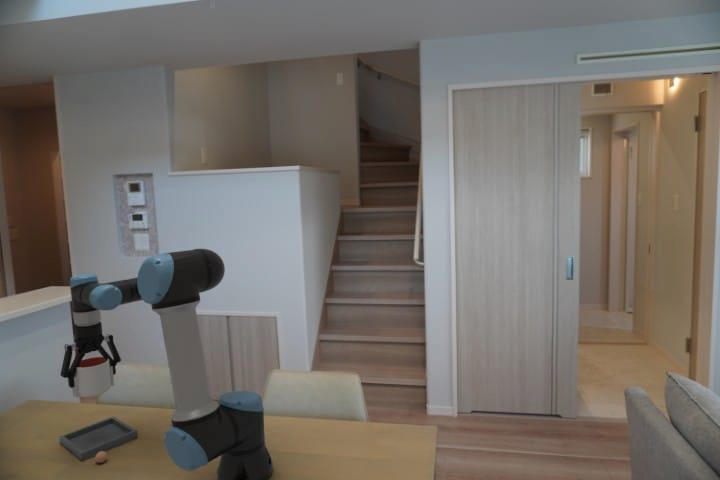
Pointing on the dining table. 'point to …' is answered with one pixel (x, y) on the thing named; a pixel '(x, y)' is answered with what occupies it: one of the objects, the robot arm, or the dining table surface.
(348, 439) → the dining table surface
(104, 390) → the cup
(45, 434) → the dining table surface
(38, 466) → the dining table surface
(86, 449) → the tray
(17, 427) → the dining table surface
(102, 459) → the ball
